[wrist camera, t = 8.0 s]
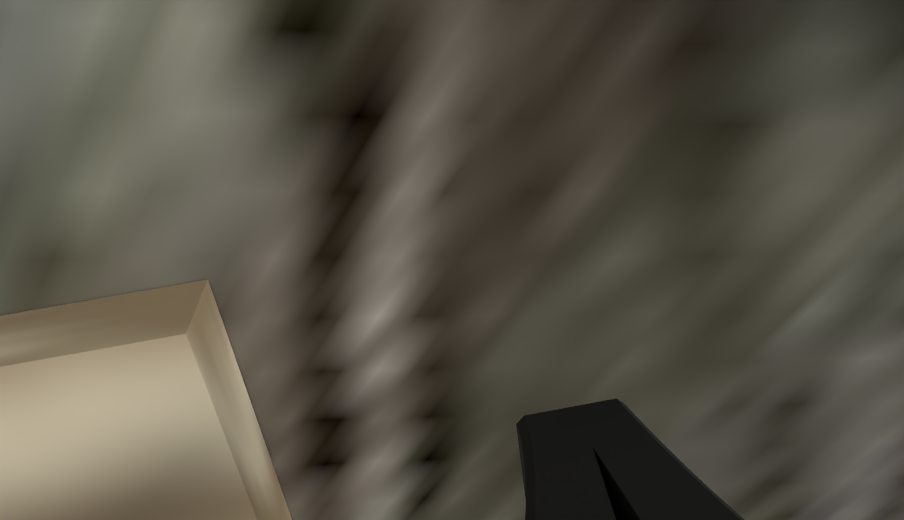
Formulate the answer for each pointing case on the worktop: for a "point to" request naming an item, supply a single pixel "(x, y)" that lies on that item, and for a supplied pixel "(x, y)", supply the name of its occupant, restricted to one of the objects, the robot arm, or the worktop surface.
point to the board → (129, 414)
